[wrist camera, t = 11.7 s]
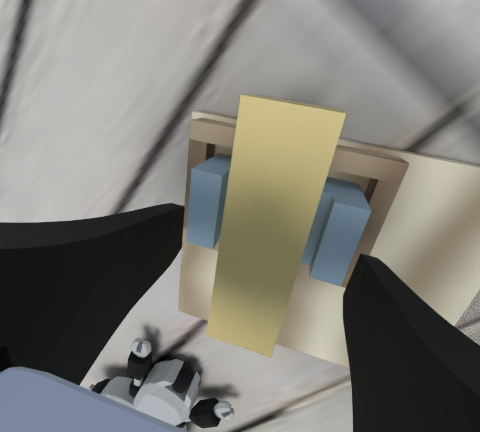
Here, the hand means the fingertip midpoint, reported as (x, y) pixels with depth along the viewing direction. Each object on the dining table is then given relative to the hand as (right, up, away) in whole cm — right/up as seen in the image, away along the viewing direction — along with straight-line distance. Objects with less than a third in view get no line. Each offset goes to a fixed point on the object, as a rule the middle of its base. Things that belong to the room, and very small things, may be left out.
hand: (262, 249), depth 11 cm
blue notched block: (+1, +2, +5) cm, 6 cm away
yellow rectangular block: (+1, +2, +2) cm, 3 cm away
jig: (+4, -1, +7) cm, 8 cm away
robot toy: (-9, -17, +18) cm, 26 cm away
